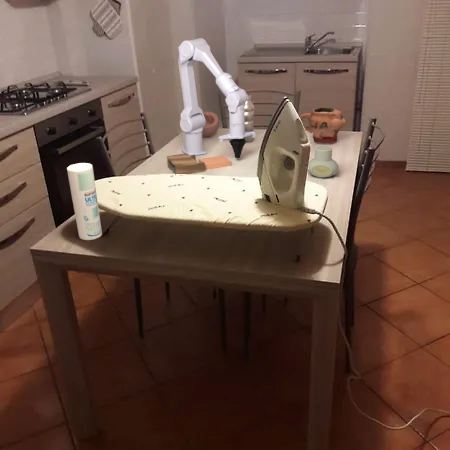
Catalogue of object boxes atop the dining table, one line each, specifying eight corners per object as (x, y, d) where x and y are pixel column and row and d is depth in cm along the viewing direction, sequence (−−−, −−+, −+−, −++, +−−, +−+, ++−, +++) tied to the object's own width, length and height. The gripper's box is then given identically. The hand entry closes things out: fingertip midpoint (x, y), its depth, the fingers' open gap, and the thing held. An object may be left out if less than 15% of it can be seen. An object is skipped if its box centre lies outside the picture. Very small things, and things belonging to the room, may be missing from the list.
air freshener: (338, 172, 181) (340, 145, 177) (336, 180, 174) (338, 152, 169) (308, 170, 184) (309, 143, 179) (305, 178, 176) (306, 150, 172)
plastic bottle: (255, 143, 216) (255, 96, 208) (239, 143, 217) (238, 96, 208) (254, 139, 222) (254, 93, 214) (239, 139, 222) (238, 93, 214)
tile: (198, 164, 194) (198, 159, 193) (222, 161, 198) (222, 155, 196) (206, 171, 187) (206, 165, 186) (231, 166, 191) (230, 160, 190)
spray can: (91, 242, 136) (80, 172, 128) (73, 237, 139) (61, 168, 131) (107, 232, 141) (97, 164, 133) (89, 228, 144) (79, 161, 136)
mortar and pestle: (190, 139, 224) (189, 114, 219) (196, 132, 235) (195, 108, 230) (217, 140, 222) (216, 114, 217) (221, 133, 233) (220, 108, 228)
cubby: (167, 166, 191) (166, 156, 190) (195, 162, 195) (194, 152, 193) (176, 176, 182) (175, 164, 180) (205, 171, 186) (204, 160, 184)
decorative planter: (296, 144, 213) (297, 112, 207) (298, 137, 223) (299, 105, 217) (344, 146, 209) (347, 113, 203) (344, 138, 220) (347, 106, 214)
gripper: (223, 127, 183) (224, 163, 189) (259, 122, 188) (259, 157, 194) (216, 123, 189) (217, 158, 195) (251, 118, 194) (251, 152, 200)
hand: (237, 157), depth 195 cm, fingers closed
